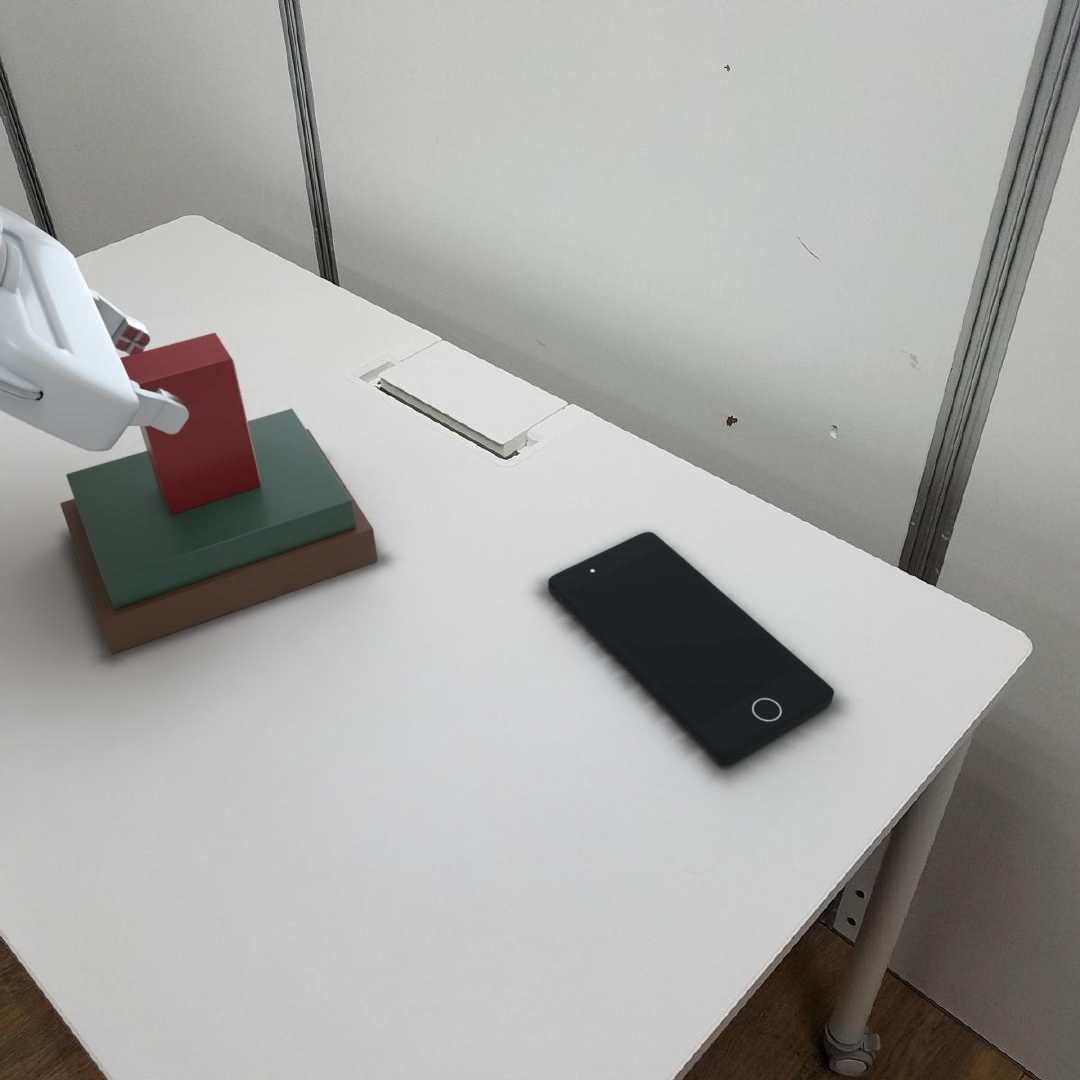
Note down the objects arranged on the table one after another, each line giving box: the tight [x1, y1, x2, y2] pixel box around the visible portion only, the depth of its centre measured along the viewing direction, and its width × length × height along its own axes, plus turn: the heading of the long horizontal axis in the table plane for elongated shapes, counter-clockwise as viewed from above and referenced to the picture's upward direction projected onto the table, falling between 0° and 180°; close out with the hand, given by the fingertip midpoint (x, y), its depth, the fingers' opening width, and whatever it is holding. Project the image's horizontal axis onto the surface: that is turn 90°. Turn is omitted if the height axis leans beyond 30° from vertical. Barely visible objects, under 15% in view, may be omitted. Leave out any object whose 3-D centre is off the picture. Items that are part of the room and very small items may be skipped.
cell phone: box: [547, 531, 835, 767], centre depth 70 cm, size 9×18×1 cm, turn 34°
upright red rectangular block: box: [120, 332, 261, 515], centre depth 71 cm, size 6×4×10 cm, turn 119°
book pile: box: [60, 408, 379, 655], centre depth 76 cm, size 18×13×6 cm
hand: (161, 378), depth 68 cm, fingers open, 8 cm apart
